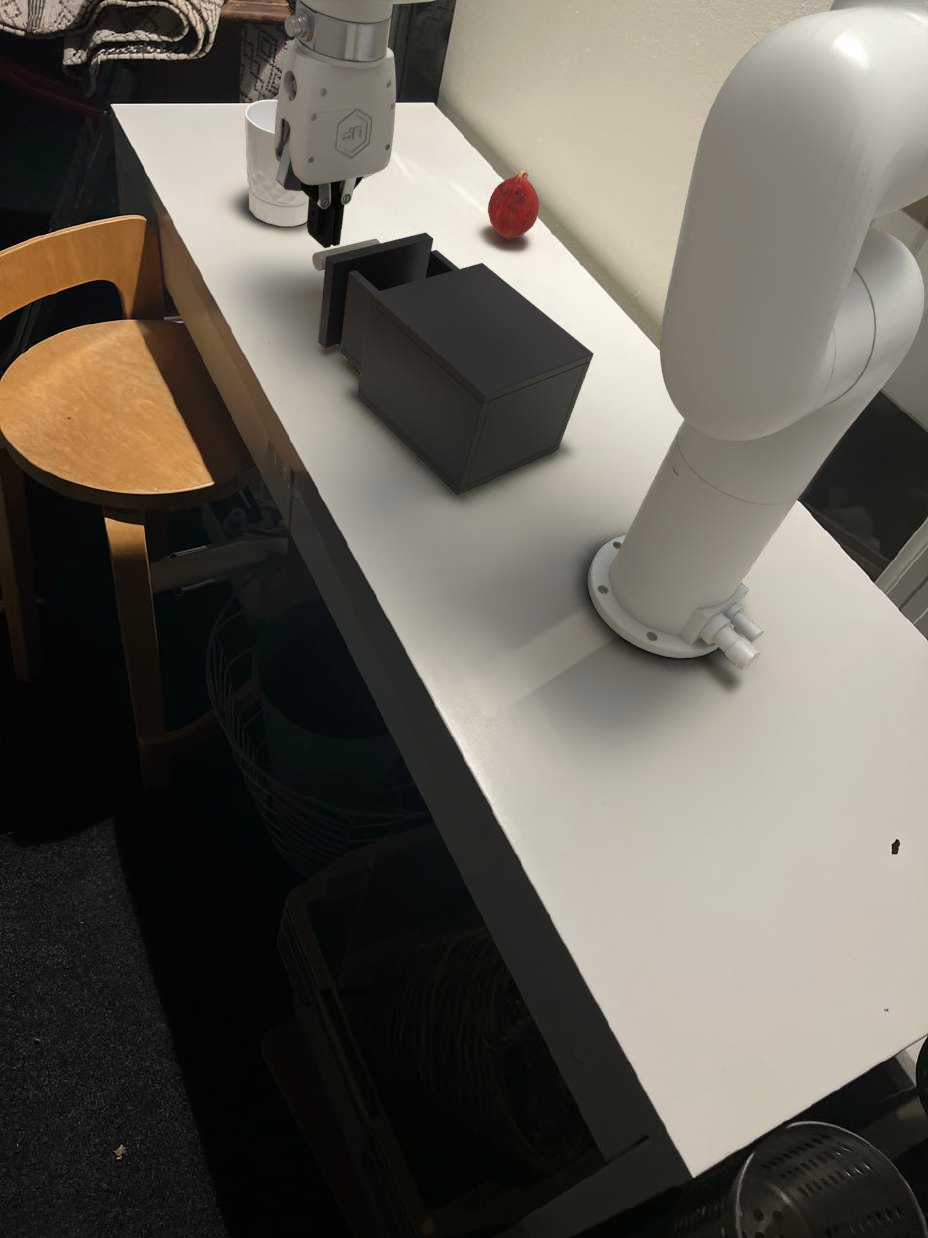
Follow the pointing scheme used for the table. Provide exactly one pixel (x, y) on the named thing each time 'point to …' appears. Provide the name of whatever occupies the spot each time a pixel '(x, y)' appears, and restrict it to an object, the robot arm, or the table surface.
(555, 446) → the dark grey box
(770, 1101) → the table surface
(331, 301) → the drawer
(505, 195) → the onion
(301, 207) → the white cup
